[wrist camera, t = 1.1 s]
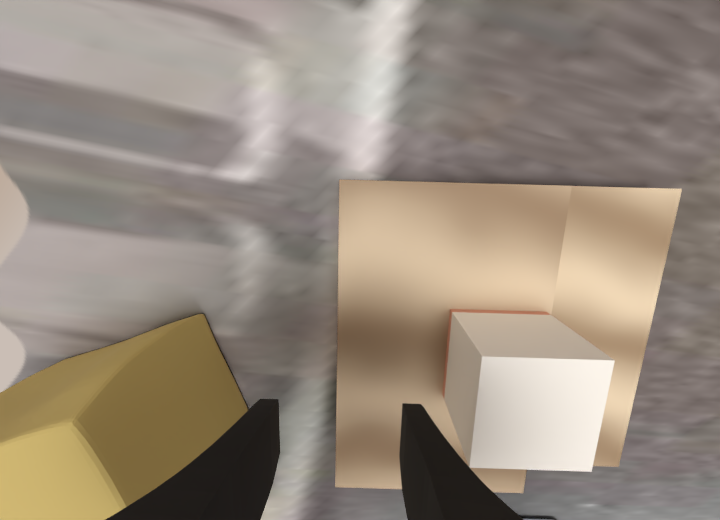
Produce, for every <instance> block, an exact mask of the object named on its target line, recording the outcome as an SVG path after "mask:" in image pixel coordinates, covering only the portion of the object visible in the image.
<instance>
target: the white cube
mask: <svg viewBox="0 0 720 520" xmlns="http://www.w3.org/2000/svg"><path fill="white" fill-rule="evenodd" d="M614 362H615V360H614V359H612V358H611V357H609V356H608V355H607V354H605V353H604V352H602V351H601V350H600V349H598V348H597V347H595V346H594V345H593V344H591V343H590V342H588V341H587V340H585V339H584V338H583V337H581V336H580V335H578V334H577V333H576V332H574V331H573V330H571V329H570V328H569V327H567V326H566V325H564V324H563V323H562V322H560V321H559V320H557V319H556V318H555V317H553V316H552V315H550V314H549V313H548V312H540V311H505V310H471V309H450V314H449V326H448V337H447V348H446V359H445V370H444V381H443V393H442V395H443V398H444V400H445V403H446V406H447V408H448V411H449V414H450V417H451V419H452V422H453V425H454V427H455V430H456V433H457V436H458V438H459V441H460V444H461V446H462V449H463V452H464V455H465V457H466V460H467V463H468V466H469V467H470V468H493V469H525V470H557V471H589V472H592V467H593V462H594V458H595V453H596V448H597V443H598V439H599V434H600V429H601V424H602V419H603V415H604V410H605V405H606V400H607V395H608V391H609V386H610V381H611V376H612V372H613V367H614Z"/></svg>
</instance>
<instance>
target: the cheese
mask: <svg viewBox="0 0 720 520" xmlns="http://www.w3.org/2000/svg"><path fill="white" fill-rule="evenodd" d="M247 411H248V408H247V406H246V404H245V402H244V399H243V397H242V395H241V393H240V391H239V388H238V386H237V384H236V382H235V380H234V378H233V376H232V374H231V372H230V370H229V368H228V366H227V364H226V362H225V360H224V358H223V356H222V354H221V352H220V350H219V348H218V346H217V343H216V341H215V339H214V337H213V334H212V332H211V330H210V328H209V325H208V323H207V321H206V318H205V316H204V315H203V314H198V315H195V316H191V317H188V318H185V319H182V320H179V321H176V322H173V323H170V324H167V325H164V326H162V327H159V328H156V329H154V330H151V331H149V332H146V333H143V334H141V335H138V336H136V337H133V338H131V339H128V340H125V341H123V342H120V343H116V344H113V345H110V346H107V347H104V348H101V349H98V350H94V351H91V352H88V353H84V354H81V355H78V356H74V357H71V358H68V359H65V360H63V361H60V362H58V363H56V364H54V365H52V366H50V367H48V368H46V369H44V370H42V371H40V372H38V373H36V374H34V375H32V376H30V377H28V378H26V379H24V380H22V381H21V382H19V383H17V384H15V385H13V386H12V387H10V388H8V389H6V390H5V391H3V392H1V393H0V520H105V519H107V518H109V517H111V516H112V515H114V514H116V513H117V512H119V511H121V510H122V509H124V508H125V507H127V506H129V505H130V504H132V503H133V502H135V501H137V500H138V499H140V498H141V497H143V496H144V495H146V494H148V493H149V492H151V491H152V490H154V489H155V488H157V487H158V486H160V485H161V484H162V483H164V482H165V481H167V480H168V479H169V478H171V477H172V476H174V475H175V474H176V473H178V472H179V471H180V470H182V469H183V468H184V467H186V466H187V465H188V464H189V463H191V462H192V461H193V460H194V459H196V458H197V457H198V456H199V455H200V454H201V453H203V452H204V451H205V450H206V449H207V448H208V447H210V446H211V445H212V444H213V443H214V442H215V441H216V440H218V439H219V438H220V437H221V436H222V435H223V434H224V433H225V432H226V431H227V430H228V429H229V428H231V427H232V426H233V425H234V424H235V423H236V422H237V421H238V420H239V419H240V418H241V417H242V416H243V415H244V414H245V413H246V412H247Z"/></svg>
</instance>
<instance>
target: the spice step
mask: <svg viewBox="0 0 720 520" xmlns="http://www.w3.org/2000/svg"><path fill="white" fill-rule="evenodd" d="M681 191H682V189H662V188H625V187H589V186H558V185H521V184H484V183H448V182H411V181H374V180H339V246H338V323H337V400H336V478H335V487H347V488H379V489H402V482H401V471H400V459H399V452H400V436H401V419H402V403H408V404H421V405H422V406H423V407H424V408H425V410H426V411H427V413H428V414H429V416H430V417H431V419H432V420H433V422H434V423H435V424H436V426H437V427H438V429H439V430H440V431H441V433H442V434H443V435H444V437H445V438H446V439H447V441H448V442H449V443H450V445H451V446H452V447H453V448H454V450H455V451H456V452H457V453H458V455H459V456H460V457H461V458H462V459H463V461H464V462H465V463H466V464H467V465H468V463H467V460H466V457H465V455H464V452H463V449H462V446H461V444H460V441H459V438H458V436H457V433H456V430H455V427H454V425H453V422H452V419H451V417H450V414H449V411H448V408H447V406H446V403H445V400H444V398H443V395H442V393H443V381H444V370H445V359H446V348H447V337H448V326H449V314H450V309H471V310H505V311H540V312H548V313H549V314H550V315H552V316H553V317H555V318H556V319H557V320H559V321H560V322H562V323H563V324H564V325H566V326H567V327H569V328H570V329H571V330H573V331H574V332H576V333H577V334H578V335H580V336H581V337H583V338H584V339H585V340H587V341H588V342H590V343H591V344H593V345H594V346H595V347H597V348H598V349H600V350H601V351H602V352H604V353H605V354H607V355H608V356H609V357H611V358H612V359H614V360H615V362H614V367H613V372H612V376H611V381H610V386H609V391H608V395H607V400H606V405H605V410H604V415H603V419H602V424H601V429H600V434H599V439H598V443H597V448H596V453H595V458H594V462H593V466H613V467H619V462H620V458H621V454H622V449H623V445H624V440H625V436H626V432H627V427H628V423H629V419H630V414H631V410H632V405H633V401H634V397H635V392H636V388H637V384H638V379H639V375H640V371H641V366H642V362H643V357H644V353H645V349H646V344H647V340H648V336H649V331H650V327H651V322H652V318H653V314H654V309H655V305H656V301H657V296H658V292H659V287H660V283H661V279H662V274H663V270H664V266H665V261H666V257H667V252H668V248H669V244H670V239H671V235H672V231H673V226H674V222H675V218H676V213H677V209H678V204H679V200H680V196H681ZM470 469H471V470H472V471H473V472H474V473H475V474H476V475H477V476H478V477H479V479H480V480H481V481H482V482H483V483H484V484H485V485H486V486H487V487H488V488H489V489H490V490H491V491H492V492H505V493H523V490H524V484H525V478H526V471H527V470H525V469H493V468H470Z"/></svg>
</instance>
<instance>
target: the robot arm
mask: <svg viewBox="0 0 720 520" xmlns="http://www.w3.org/2000/svg"><path fill="white" fill-rule="evenodd" d="M279 454H280V437H279V403H278V400H277V399H260V400H259V401H257V402H256V403H255V404H254V405H253V406H252V407H251V408H250V409H249V410H248V411H247V412H246V413H245V414H244V415H243V416H242V417H241V418H240V419H239V420H238V421H237V422H236V423H235V424H234V425H233V426H232V427H231V428H229V429H228V430H227V431H226V432H225V433H224V434H223V435H222V436H221V437H220V438H219V439H218V440H216V441H215V442H214V443H213V444H212V445H211V446H210V447H208V448H207V449H206V450H205V451H204V452H203V453H201V454H200V455H199V456H198V457H197V458H196V459H194V460H193V461H192V462H191V463H189V464H188V465H187V466H186V467H184V468H183V469H182V470H180V471H179V472H178V473H176V474H175V475H174V476H172V477H171V478H169V479H168V480H167V481H165V482H164V483H162V484H161V485H160V486H158V487H157V488H155V489H154V490H152V491H151V492H149V493H148V494H146V495H144V496H143V497H141V498H140V499H138V500H137V501H135V502H133V503H132V504H130V505H129V506H127V507H125V508H124V509H122V510H121V511H119V512H117V513H116V514H114V515H112V516H111V517H109V518H107V519H105V520H260V519H261V516H262V513H263V511H264V508H265V505H266V502H267V499H268V496H269V493H270V490H271V487H272V484H273V480H274V476H275V472H276V468H277V463H278V459H279ZM399 459H400V471H401V482H402V491H403V497H404V502H405V507H406V513H407V518H408V520H553V519H522V518H521V517H520V516H519V515H518V514H516V513H515V512H514V511H513V510H512V509H510V508H509V507H508V506H507V505H506V504H505V503H504V502H503V501H502V500H501V499H499V498H498V497H497V496H496V495H495V494H494V493H493V492H492V491H491V490H490V489H489V488H488V487H487V486H486V485H485V484H484V483H483V482H482V481H481V480H480V479H479V477H478V476H477V475H476V474H475V473H474V472H473V471H472V470H471V469H470V467H469V466H468V465H467V464H466V463H465V462H464V461H463V459H462V458H461V457H460V456H459V455H458V453H457V452H456V451H455V450H454V448H453V447H452V446H451V445H450V443H449V442H448V441H447V439H446V438H445V437H444V435H443V434H442V433H441V431H440V430H439V429H438V427H437V426H436V424H435V423H434V422H433V420H432V419H431V417H430V416H429V414H428V413H427V411H426V410H425V408H424V407H423V406H422V405H421V404H408V403H402V419H401V436H400V452H399Z"/></svg>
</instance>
